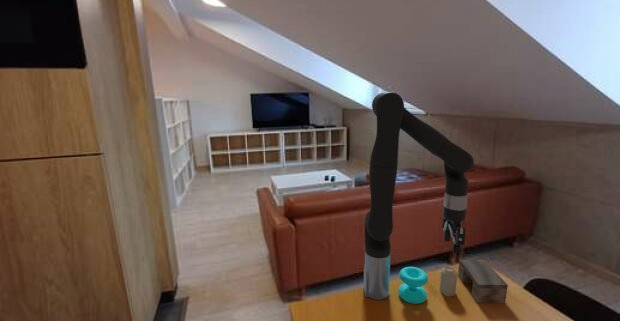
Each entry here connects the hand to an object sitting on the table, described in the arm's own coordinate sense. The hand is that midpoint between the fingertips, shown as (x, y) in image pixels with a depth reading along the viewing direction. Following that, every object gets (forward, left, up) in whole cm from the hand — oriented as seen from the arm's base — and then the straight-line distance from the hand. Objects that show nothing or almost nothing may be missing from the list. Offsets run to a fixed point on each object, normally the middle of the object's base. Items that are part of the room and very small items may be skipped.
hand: (451, 246), depth 111 cm
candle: (0, 0, -19) cm, 19 cm away
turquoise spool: (-14, -3, -19) cm, 24 cm away
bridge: (+13, +2, -19) cm, 23 cm away
